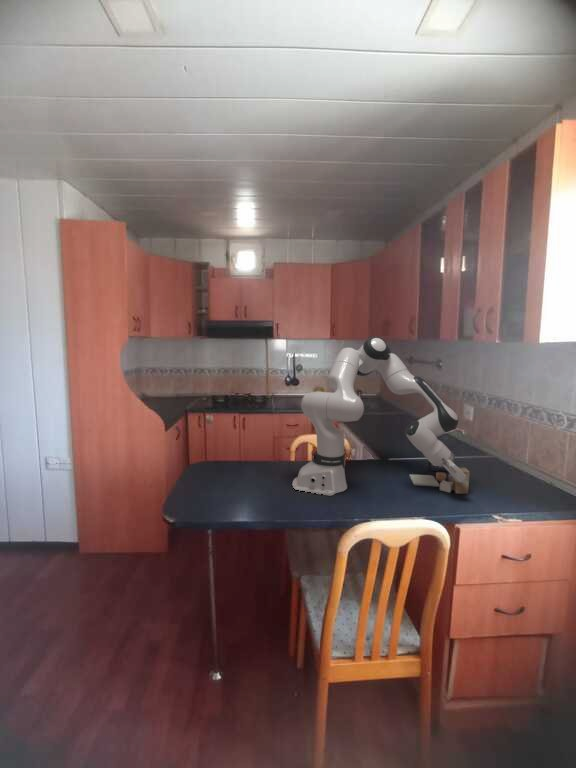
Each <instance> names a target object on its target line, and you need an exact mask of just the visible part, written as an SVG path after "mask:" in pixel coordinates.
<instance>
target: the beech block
mask: <svg viewBox="0 0 576 768" xmlns="http://www.w3.org/2000/svg"><path fill="white" fill-rule="evenodd" d="M458 468H459V469H460V470H461V471H462V472H463V473H464V474H465V475H466V476H467V478H466V480H467V483H466V484H463V483H462V482H461V483H459V482H458V481H457V480H456V479H455V478H454V477H453V490H452V491H453V492H454V493H455V494H461V495H462V494H465V495H466V494H467V495H468V494H469V484H470V483H469V482H470V471H469V470H468V469H467V467H458Z"/></svg>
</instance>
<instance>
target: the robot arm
mask: <svg viewBox="0 0 576 768" xmlns="http://www.w3.org/2000/svg"><path fill="white" fill-rule="evenodd" d="M373 370H376V371H378V372H379V373H380V375H381V376H382V379H383V381H384V382H385V385H386V386H387V388H388V389H389V390H390V391H391V392H392V393H393V394H396V395H399V396H400V395H409V394H415V393H418V394H419V395H422V397H423V398H425V400H426V401H427V403H429V404H430V406H431V407H432V408H433V411H432V412H430V413H428V414H427V415H425V416H423V417H421V418H420V419H418V420H413V421H412V422H410V423H409V424H408V425H407V426H406V429H405V432H404V433H405V435H406V437H407V439H408V440H409V442H411V444H412V445H413V446H414V447H415V449H416V450H418V451H420V452H421V453H422V454H423V457H425V459H426V460H428V461H429V462H430V463H431V464H432V465H433V466H439V467H442V466H443V467H444V468H445V469H446V470H447V471H448V472H449V473H448V474H451V475H452V476H453V477H454V478H455V479H456V480H457V481H458V482H459V483H461V482H462V483H463V484H466V483H467V480H466V478H467V476H466V475H465V474H464V473H463V472H462V471H461V470H460V469H459V468H460V467H459V466H457V465H456V464H455V462H454V463H453V462H452V461H451V456H450V455H451V451H450V450H449V449H448V448H447V447H448V446H446V445H445V444H444V443H443V441H441V440H439V439H438V437H440V436H443V435H444V434H446V433H449V432H451V431H454V430H456V429H457V427H458V424H459V420H460V419H459V417H458V414H457V413H456V412H455V411H454V409H453V408H452V407H450V406H449V405H448V404H447V403H446V402H445V401H444V400H443V399H442V398H441V397H440V395H439V394H438V393H437V392H436V391H435V390H434V389H433V387H431V386H430V385H429V384H428V382H427V381H425V379H424V378H422V377H421V376H415V375H413V374H412V373H411V372H410V371H409V369H408V368H407V366H406V364H404V362H403V361H402V359H401V358H400V357H399V356H398V355H397V354H395V353H393V352H391V348H390V347H389V346H388V344H387V342H386V341H385V340H384V339H383V338H381V337H378V336H370V337H369V338H367V339H366V340H364V342H363V344H362V345H361V346H360V348H358V349H355V348H354V347H343V348H342V349H341V350H340V351H339V352H338V353H337V355H336V357H335V358H334V361H333V363H332V365H331V368H330V371H329V373H328V375H327V384H328V386H329V387H330V388H331V390H333V391H334V392H329V391H318V390H317V391H311V392H306V393H305V394H304V395H303V396H302V398H301V402H300V408H301V412H302V413H303V414H304V415H305V416H306V417H307V418H308V419H309V421H310V422H311V423H312V425H313V427H314V430H315V434H316V449H313V450H311V460H310V461H309V462H307V463H306V464H305V465H303V466H302V467H301V468H300V469H299V472H298V474H297V476H296V477H295V478H294V479H293V480H292V486H293V487H292V486H291V487H292V489H293V488H294V489H295V490H299V491H298V492H300V491H305V492H304V493H307V492H311V493H310V494H314V493H316V495H321V494H323V495H322V496H330V497H331V496H334V495H335V494H338V493H341V492H344V491H346V490H347V489H348V483H347V480H346V473H345V467H346V453H345V435H344V433H343V431H342V430H340V429H339V428H338V427H336V425H335V423H334V422H333V421H335V422H336V421H337V422H344V423H345V422H347V423H348V422H356V421H359V420H360V419H361V418H362V416H363V414H364V411H365V405H364V402H363V400H362V399H361V397H360V396H359V395H357V394H356V391H355V388H354V386H355V381H356V378H357V376H359V377H366V376H368V375H370V374H371V373H372V372H374V371H373ZM428 461H427V462H428ZM294 489H293V490H294ZM295 490H294V491H295Z"/></svg>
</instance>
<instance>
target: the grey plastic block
mask: <svg viewBox="0 0 576 768" xmlns="http://www.w3.org/2000/svg"><path fill="white" fill-rule="evenodd" d="M447 481H448V482H452V483H453V476H452V475H451V474H450V473H448V474H447Z"/></svg>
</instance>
